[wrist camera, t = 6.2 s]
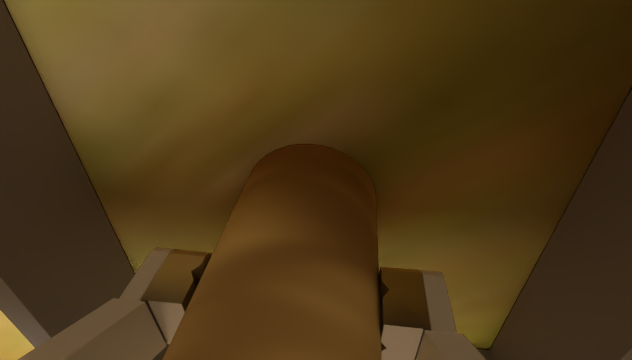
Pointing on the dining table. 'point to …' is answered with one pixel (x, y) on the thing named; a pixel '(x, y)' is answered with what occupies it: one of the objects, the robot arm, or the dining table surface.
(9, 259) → the frame
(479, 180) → the dining table surface
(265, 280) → the peg
